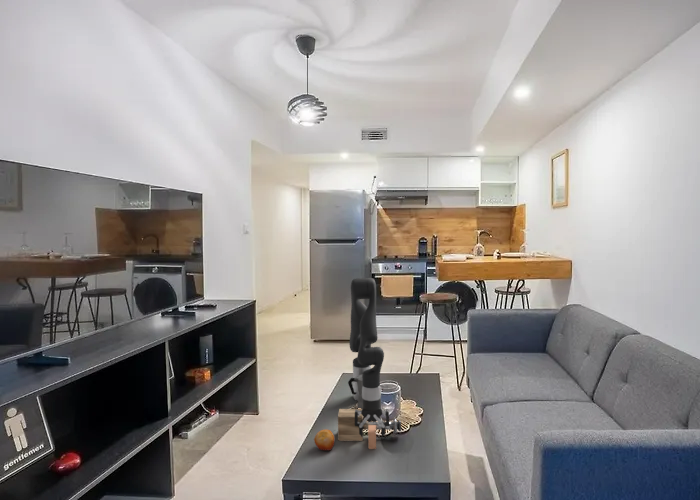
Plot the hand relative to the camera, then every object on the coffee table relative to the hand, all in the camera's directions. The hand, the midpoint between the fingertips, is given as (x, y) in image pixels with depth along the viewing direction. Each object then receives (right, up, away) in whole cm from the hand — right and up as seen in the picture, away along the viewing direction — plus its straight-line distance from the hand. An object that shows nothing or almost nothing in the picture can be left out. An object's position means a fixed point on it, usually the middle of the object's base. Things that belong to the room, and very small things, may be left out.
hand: (372, 435), depth 175 cm
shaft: (+3, -2, +7) cm, 8 cm away
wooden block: (-9, -3, +8) cm, 12 cm away
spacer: (0, -4, 0) cm, 4 cm away
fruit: (-19, -5, -2) cm, 20 cm away
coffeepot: (-2, -2, +35) cm, 36 cm away
